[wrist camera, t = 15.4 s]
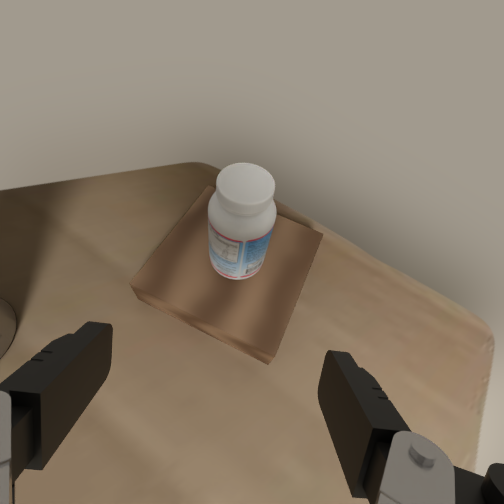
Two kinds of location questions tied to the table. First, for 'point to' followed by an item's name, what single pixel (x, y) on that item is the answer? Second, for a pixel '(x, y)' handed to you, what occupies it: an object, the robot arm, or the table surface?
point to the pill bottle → (241, 220)
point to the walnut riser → (228, 283)
